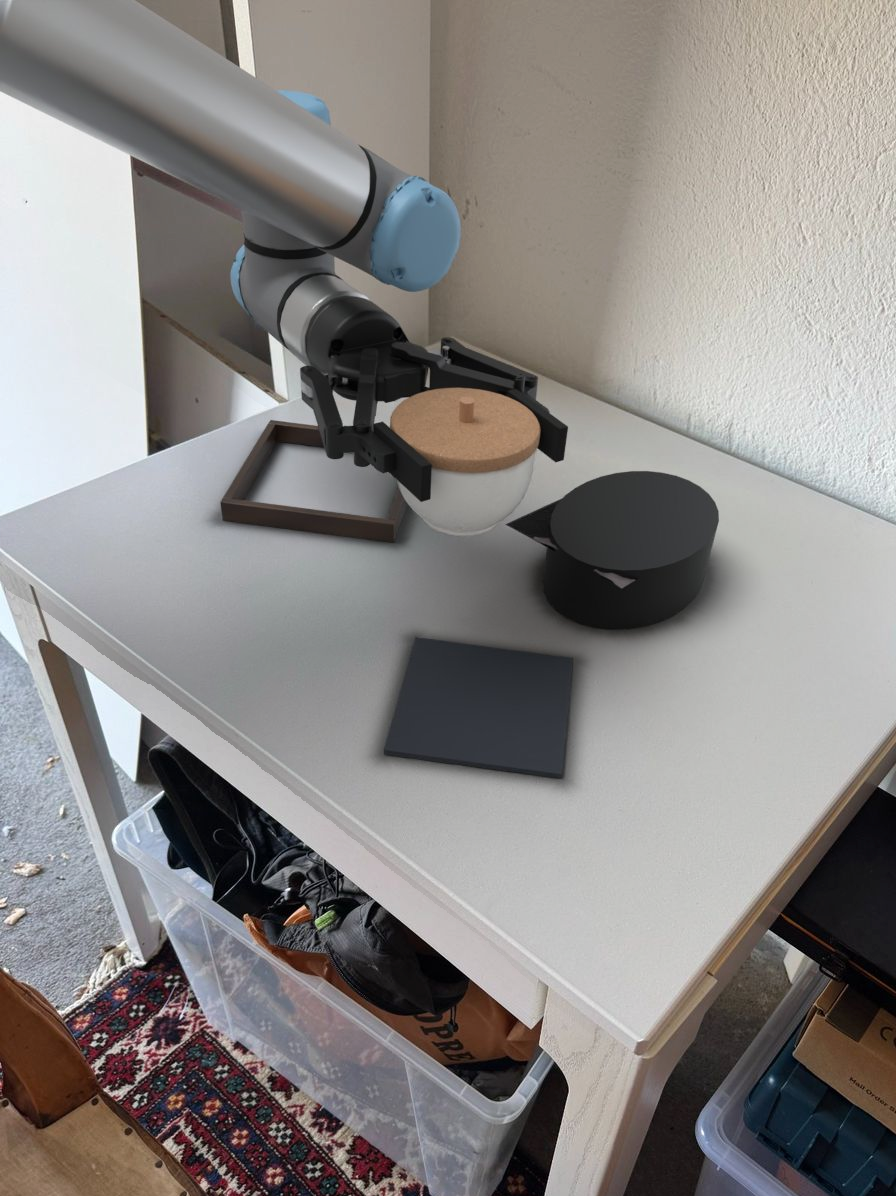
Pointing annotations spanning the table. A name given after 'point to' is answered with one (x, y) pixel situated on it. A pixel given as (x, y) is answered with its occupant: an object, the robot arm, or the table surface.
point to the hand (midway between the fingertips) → (496, 463)
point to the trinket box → (469, 456)
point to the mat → (483, 708)
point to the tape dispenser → (624, 548)
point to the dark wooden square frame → (295, 516)
